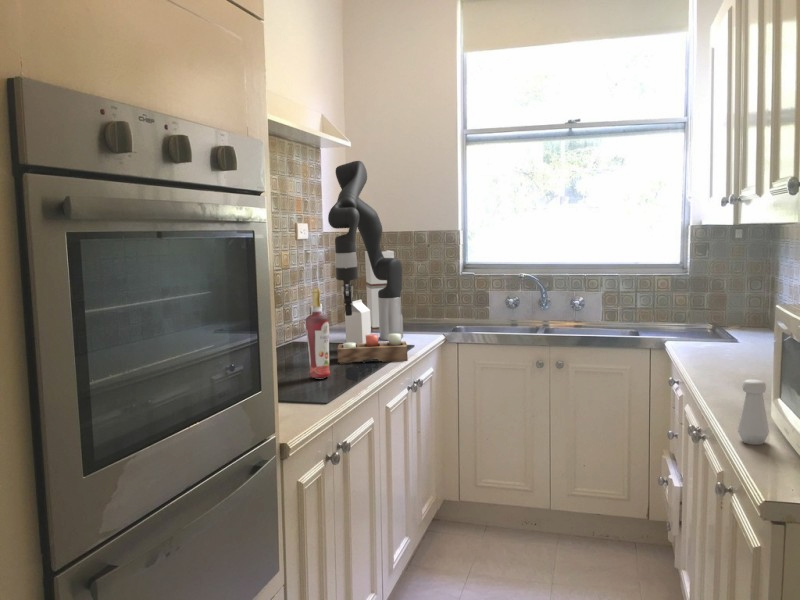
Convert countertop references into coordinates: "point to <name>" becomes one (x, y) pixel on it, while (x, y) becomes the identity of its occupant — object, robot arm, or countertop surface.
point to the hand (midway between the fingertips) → (348, 315)
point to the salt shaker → (753, 414)
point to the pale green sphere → (349, 345)
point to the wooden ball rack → (373, 352)
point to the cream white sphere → (394, 339)
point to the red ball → (372, 340)
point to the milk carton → (358, 323)
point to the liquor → (318, 339)
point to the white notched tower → (374, 290)
